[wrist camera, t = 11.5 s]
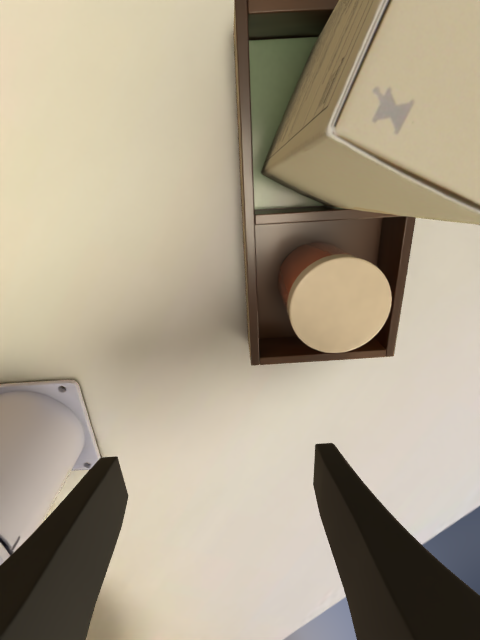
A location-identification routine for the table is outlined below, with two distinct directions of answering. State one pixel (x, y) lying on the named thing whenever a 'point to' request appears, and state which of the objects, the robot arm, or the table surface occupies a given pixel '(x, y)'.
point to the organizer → (286, 204)
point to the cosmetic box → (388, 112)
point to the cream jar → (333, 297)
